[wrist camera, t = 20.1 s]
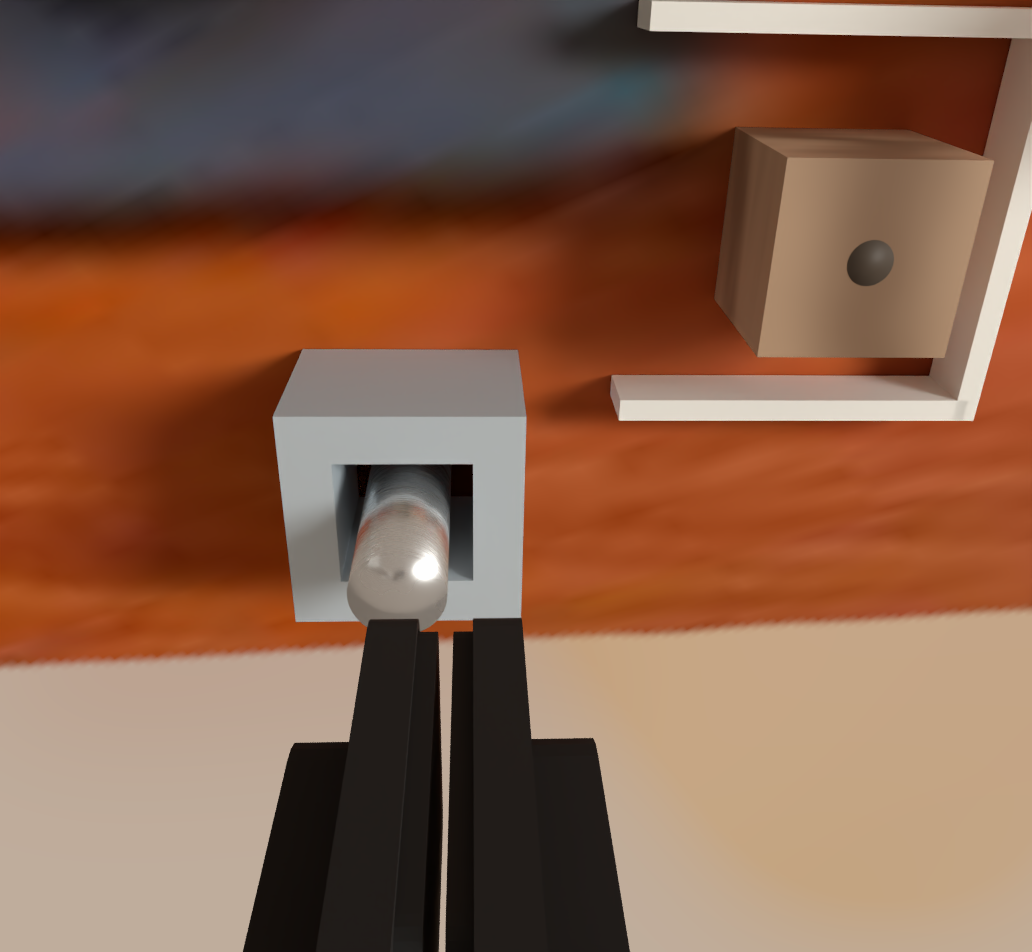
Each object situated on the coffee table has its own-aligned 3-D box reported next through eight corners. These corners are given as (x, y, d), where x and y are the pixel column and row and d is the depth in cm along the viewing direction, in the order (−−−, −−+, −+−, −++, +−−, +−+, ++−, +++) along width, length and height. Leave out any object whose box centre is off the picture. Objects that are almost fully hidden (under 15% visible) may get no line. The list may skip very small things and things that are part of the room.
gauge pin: (377, 479, 37) (349, 635, 29) (374, 411, 36) (343, 553, 27) (452, 479, 38) (447, 635, 29) (452, 411, 36) (446, 553, 27)
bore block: (320, 532, 38) (295, 621, 33) (302, 349, 35) (272, 416, 29) (514, 531, 39) (520, 619, 34) (518, 349, 35) (526, 417, 30)
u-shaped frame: (610, 394, 36) (618, 420, 34) (638, -1, 30) (651, 1, 28) (944, 394, 37) (973, 420, 35) (1043, 7, 30) (1086, 10, 28)
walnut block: (713, 298, 35) (757, 356, 29) (735, 126, 32) (787, 157, 26) (872, 299, 35) (944, 358, 30) (907, 129, 32) (994, 160, 27)
